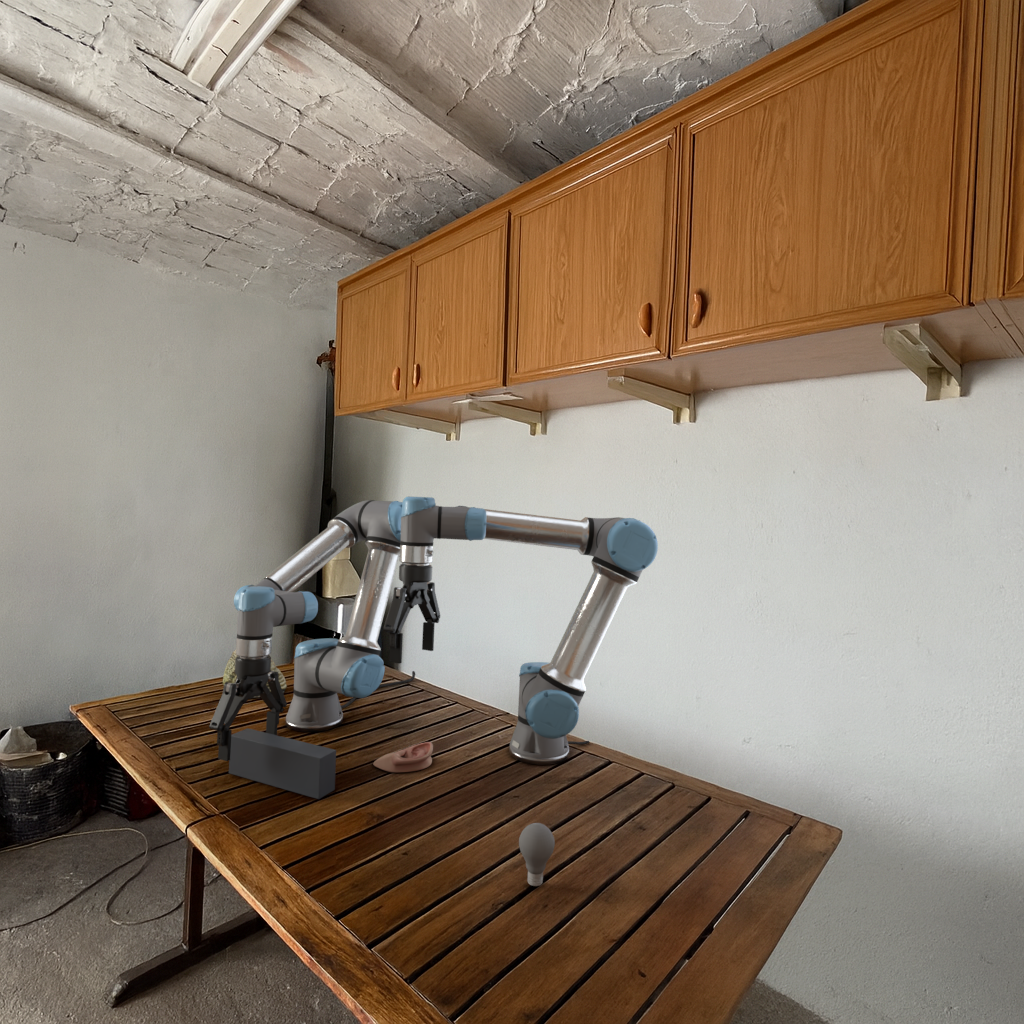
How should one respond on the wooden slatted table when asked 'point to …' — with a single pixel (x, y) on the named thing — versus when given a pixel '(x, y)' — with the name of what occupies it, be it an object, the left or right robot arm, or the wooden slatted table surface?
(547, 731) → the right robot arm
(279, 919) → the wooden slatted table surface
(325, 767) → the bar
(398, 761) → the anatomical model
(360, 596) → the left robot arm
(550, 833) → the light bulb
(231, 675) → the fossil
